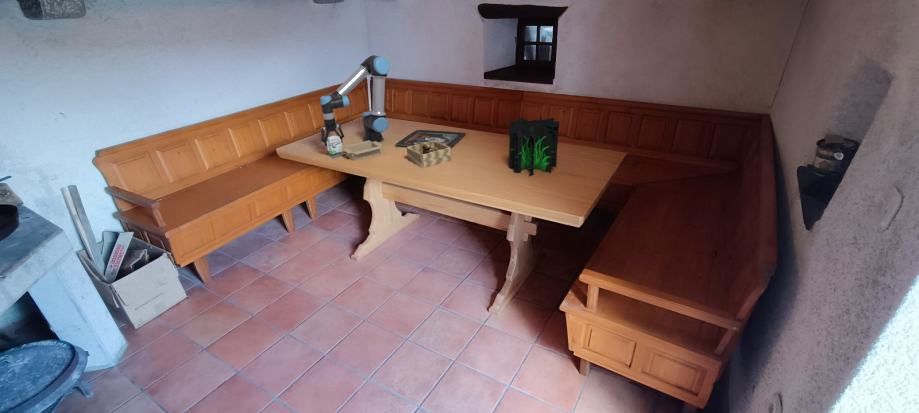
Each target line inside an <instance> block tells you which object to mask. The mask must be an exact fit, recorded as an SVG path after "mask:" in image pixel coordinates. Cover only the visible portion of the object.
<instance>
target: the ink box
mask: <svg viewBox="0 0 919 413" xmlns="http://www.w3.org/2000/svg"><path fill="white" fill-rule="evenodd" d="M327 142H328V146H329V151H328V153H330V154H335V153H339V152H341V153H343V151H342V149H343V147H342V148H341V142H340V136H338V135H337V134H336V135H331V136H328V138H327Z"/></svg>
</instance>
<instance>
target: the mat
mask: <svg viewBox="0 0 919 413" xmlns="http://www.w3.org/2000/svg"><path fill="white" fill-rule="evenodd" d="M326 154H327V156H329V157H331V159H337V158H340V157H344V156H345V154H344V153H343V152H339V153H335V154H330V153H329V152H327V153H326Z"/></svg>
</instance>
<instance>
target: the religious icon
mask: <svg viewBox="0 0 919 413" xmlns="http://www.w3.org/2000/svg"><path fill="white" fill-rule="evenodd" d="M466 135H467V133H466V132H459V131H449V130H445V131H444V130H430V129H416V130H415V131H413V132H411V133H410V134H408V135H406V136H405V137H404V138H402V139H400V140H399V141H398V142H396V143H395V147H396V148H407V147H409V146H413V145H417V144H421V143H425V142H429V141H433V140H434V141H437V142H440V143H442V144H444V145H446V146H449V147H450V148H451V149H452V148H453V147H454V146H455V145H456V144H459V142H460V141H461V140H462V139H463V138H464V137H465V136H466Z"/></svg>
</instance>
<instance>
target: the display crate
mask: <svg viewBox="0 0 919 413" xmlns="http://www.w3.org/2000/svg"><path fill="white" fill-rule="evenodd" d="M424 144H426V145H430V147H431V148H432V149H433V150H434V152H430V153H426V154H423V148H422V146H423V143H421V144H417V145H413V146H409V147H406V153H407V155H406V156H407V161H409V163H410V162H411V163H412V164H414V165H416V166H418V167H420V168H423V169H425V168H429V167H434V166H437V165H440V164H444V163H447V162H451V161H452V154H451V153H452V152H451V149H452V147H451V148H450V147H449V146H446V145H444V144H442V143H440V142H437V141H434V140H433V141H429V142H425V143H424Z"/></svg>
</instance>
